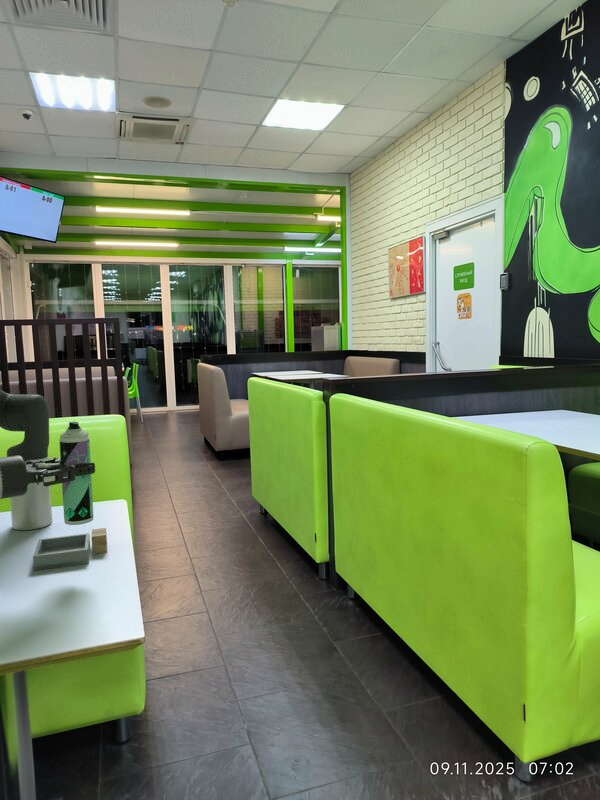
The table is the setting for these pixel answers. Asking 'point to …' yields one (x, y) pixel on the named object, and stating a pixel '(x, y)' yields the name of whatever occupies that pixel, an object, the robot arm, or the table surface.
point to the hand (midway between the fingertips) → (88, 464)
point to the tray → (62, 551)
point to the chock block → (99, 540)
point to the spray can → (80, 489)
